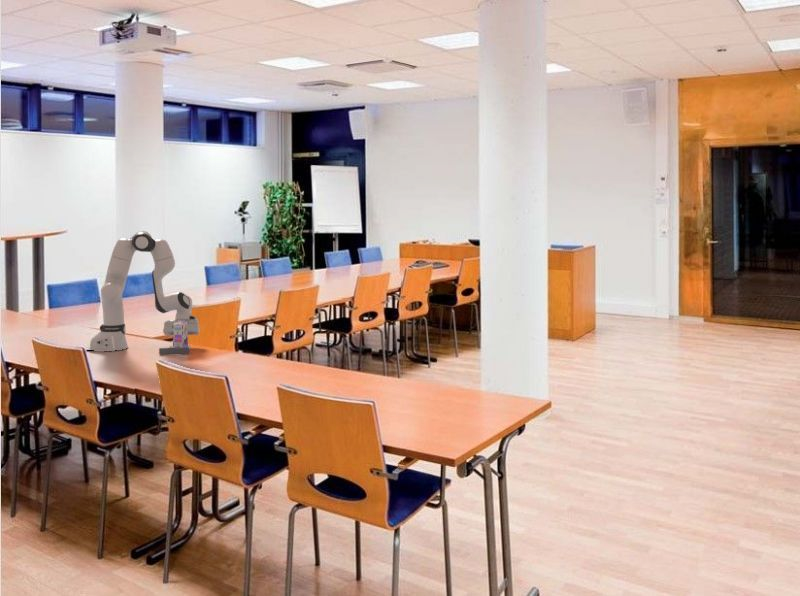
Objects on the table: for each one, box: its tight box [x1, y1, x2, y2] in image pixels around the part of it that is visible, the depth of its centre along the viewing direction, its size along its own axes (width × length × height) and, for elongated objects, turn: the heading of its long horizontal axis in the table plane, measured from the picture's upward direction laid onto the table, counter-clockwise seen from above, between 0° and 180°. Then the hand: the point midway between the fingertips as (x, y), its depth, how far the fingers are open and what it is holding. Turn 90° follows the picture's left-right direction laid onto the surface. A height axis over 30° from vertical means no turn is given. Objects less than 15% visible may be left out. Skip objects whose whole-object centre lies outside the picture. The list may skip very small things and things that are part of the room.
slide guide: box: [158, 344, 192, 355], centre depth 417 cm, size 16×19×4 cm
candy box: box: [172, 321, 189, 348], centre depth 417 cm, size 14×6×16 cm, turn 5°
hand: (180, 340), depth 424 cm, fingers closed, pressing on candy box
